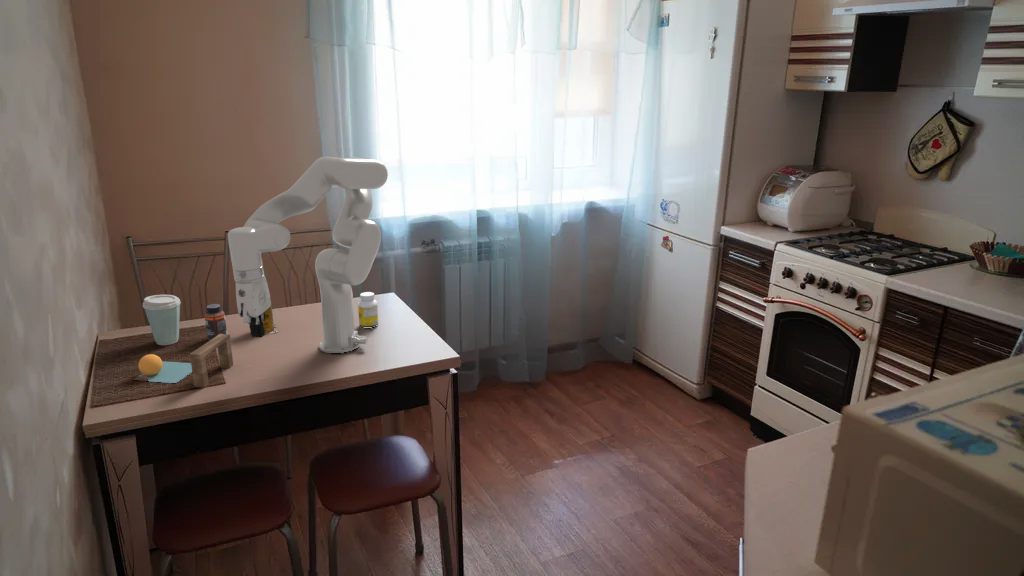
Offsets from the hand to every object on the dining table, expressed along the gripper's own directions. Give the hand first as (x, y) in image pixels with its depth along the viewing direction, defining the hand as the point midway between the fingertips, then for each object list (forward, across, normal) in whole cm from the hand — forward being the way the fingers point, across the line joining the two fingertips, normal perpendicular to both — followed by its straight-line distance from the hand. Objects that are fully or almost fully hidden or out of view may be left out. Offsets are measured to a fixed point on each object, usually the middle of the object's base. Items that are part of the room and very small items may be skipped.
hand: (258, 336), depth 184 cm
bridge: (+12, -2, +14) cm, 18 cm away
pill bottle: (+14, +43, -16) cm, 48 cm away
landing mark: (+12, -2, +28) cm, 30 cm away
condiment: (+13, +34, +17) cm, 40 cm away
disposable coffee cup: (+12, +19, +42) cm, 47 cm away
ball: (+8, -4, +31) cm, 33 cm away
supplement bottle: (+13, +24, +28) cm, 39 cm away
